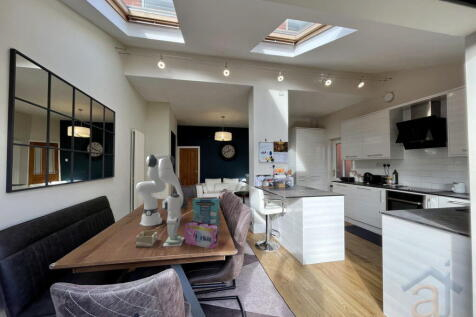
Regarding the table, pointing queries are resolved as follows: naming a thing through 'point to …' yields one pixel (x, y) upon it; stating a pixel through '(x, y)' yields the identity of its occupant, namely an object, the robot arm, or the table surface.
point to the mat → (174, 243)
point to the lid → (175, 240)
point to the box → (146, 238)
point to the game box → (206, 210)
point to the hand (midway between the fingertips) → (173, 237)
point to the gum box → (201, 234)
